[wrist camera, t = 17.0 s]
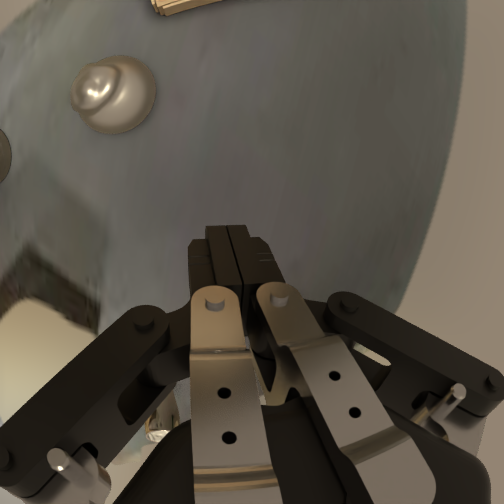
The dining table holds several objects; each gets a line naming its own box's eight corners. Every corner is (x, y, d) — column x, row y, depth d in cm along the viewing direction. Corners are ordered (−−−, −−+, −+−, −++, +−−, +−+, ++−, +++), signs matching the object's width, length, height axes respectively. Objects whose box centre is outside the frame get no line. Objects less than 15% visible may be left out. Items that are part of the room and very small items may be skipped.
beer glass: (136, 372, 60) (136, 436, 48) (160, 360, 59) (164, 426, 47) (158, 386, 64) (162, 446, 52) (182, 375, 63) (189, 437, 51)
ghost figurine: (131, 38, 28) (114, 30, 20) (172, 97, 34) (169, 108, 26) (71, 84, 29) (39, 93, 21) (112, 140, 35) (93, 165, 27)
